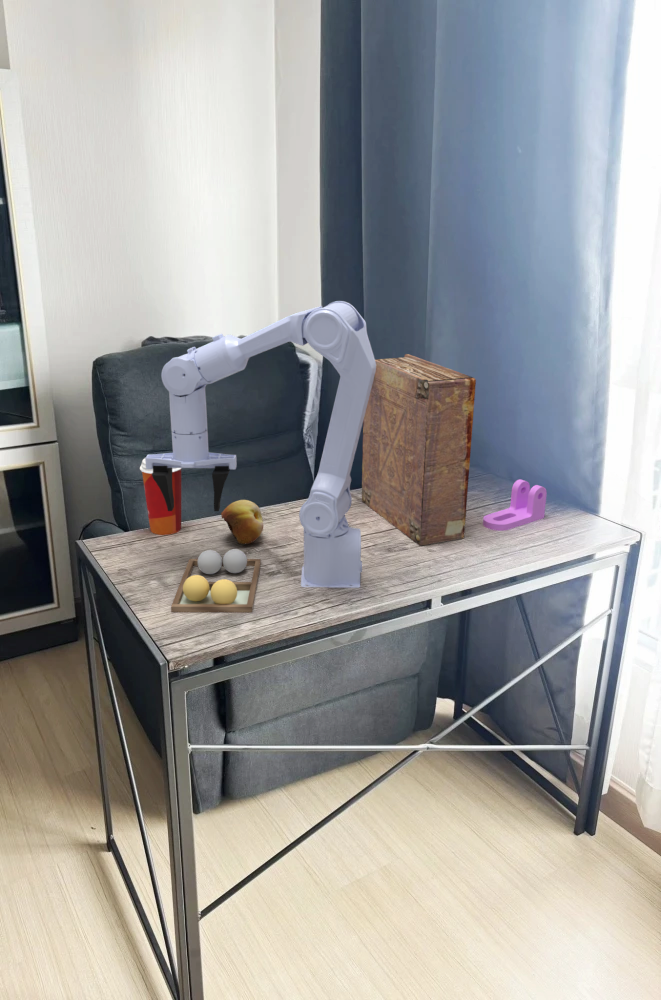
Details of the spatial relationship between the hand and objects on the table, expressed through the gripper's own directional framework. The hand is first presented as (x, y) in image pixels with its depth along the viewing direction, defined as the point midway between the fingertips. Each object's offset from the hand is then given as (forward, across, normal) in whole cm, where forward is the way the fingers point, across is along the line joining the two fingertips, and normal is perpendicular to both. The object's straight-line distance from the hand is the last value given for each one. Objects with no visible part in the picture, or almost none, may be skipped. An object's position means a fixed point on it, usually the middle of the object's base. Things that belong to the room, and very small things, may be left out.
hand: (194, 509), depth 134 cm
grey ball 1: (+9, +2, -5) cm, 11 cm away
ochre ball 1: (+9, +2, -15) cm, 17 cm away
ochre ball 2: (+9, +7, -15) cm, 19 cm away
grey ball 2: (+9, +8, -5) cm, 13 cm away
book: (+10, +38, +21) cm, 45 cm away
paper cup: (+10, -8, +14) cm, 19 cm away
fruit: (+10, +7, +9) cm, 15 cm away
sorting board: (+10, +5, -10) cm, 15 cm away
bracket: (+10, +58, +20) cm, 62 cm away
